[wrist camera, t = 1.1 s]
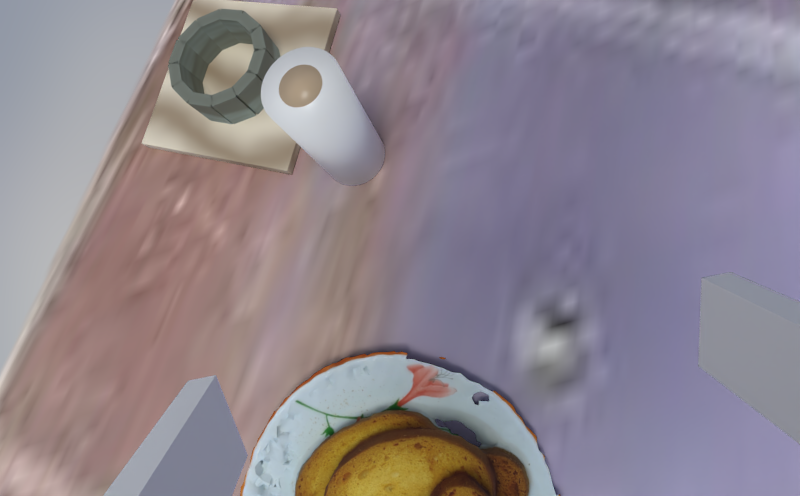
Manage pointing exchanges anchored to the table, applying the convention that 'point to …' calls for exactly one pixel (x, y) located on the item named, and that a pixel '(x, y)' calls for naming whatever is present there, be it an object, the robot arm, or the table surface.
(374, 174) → the paper roll
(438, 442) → the food on plate
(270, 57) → the roll holder
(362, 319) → the table surface
